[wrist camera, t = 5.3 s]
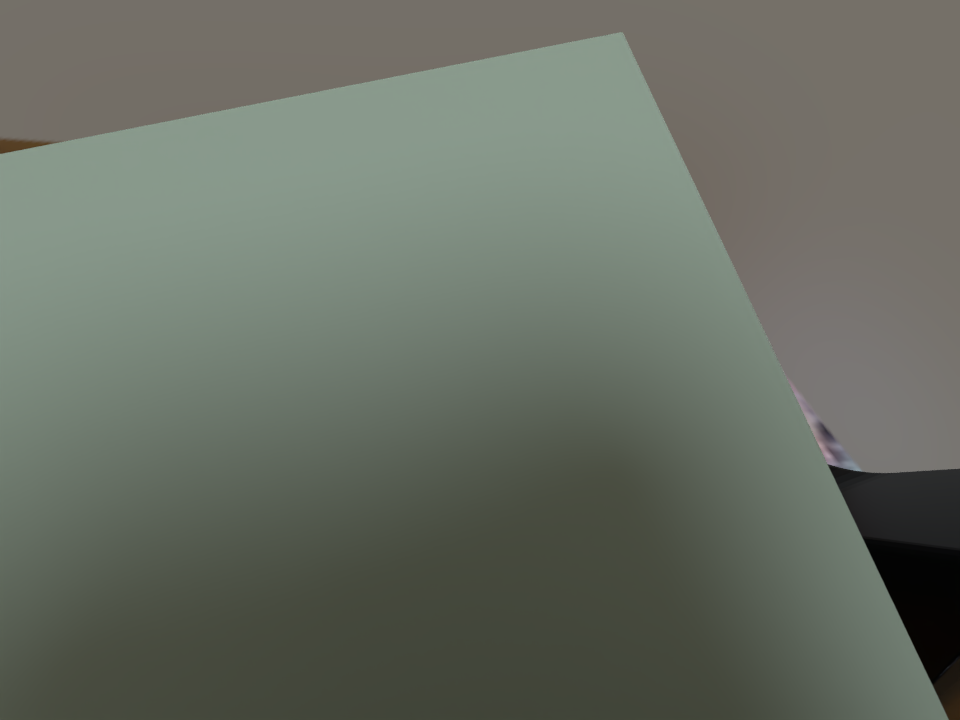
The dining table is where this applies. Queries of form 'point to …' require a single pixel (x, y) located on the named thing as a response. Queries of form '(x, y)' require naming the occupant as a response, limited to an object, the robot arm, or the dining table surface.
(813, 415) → the dining table surface
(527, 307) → the sage block
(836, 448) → the dining table surface
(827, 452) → the dining table surface
